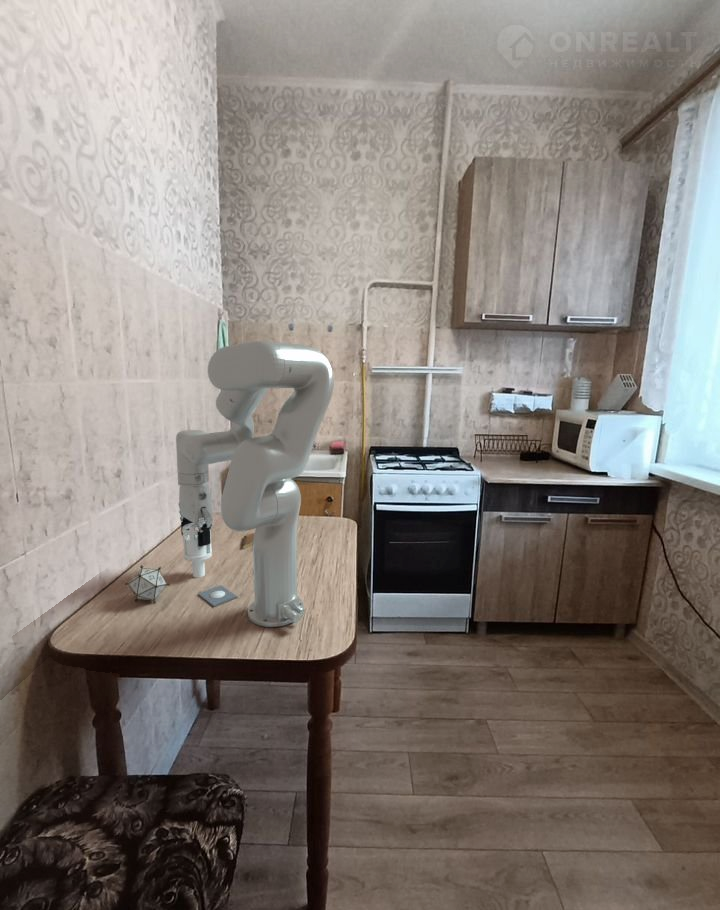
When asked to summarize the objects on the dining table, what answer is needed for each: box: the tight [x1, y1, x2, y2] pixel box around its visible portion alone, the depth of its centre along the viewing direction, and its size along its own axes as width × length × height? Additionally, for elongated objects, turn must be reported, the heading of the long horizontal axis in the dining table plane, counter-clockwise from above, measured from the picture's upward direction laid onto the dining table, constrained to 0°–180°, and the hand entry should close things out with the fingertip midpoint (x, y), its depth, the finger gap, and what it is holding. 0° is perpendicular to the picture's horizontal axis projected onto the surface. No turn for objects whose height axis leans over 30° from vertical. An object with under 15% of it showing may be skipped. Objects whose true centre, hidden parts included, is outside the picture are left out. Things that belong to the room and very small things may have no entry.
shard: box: [241, 531, 255, 550], centre depth 136 cm, size 11×8×2 cm
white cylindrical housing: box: [182, 522, 213, 579], centre depth 111 cm, size 7×7×15 cm
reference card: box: [197, 584, 238, 608], centre depth 101 cm, size 8×6×1 cm
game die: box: [124, 565, 171, 604], centre depth 98 cm, size 9×8×10 cm
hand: (195, 539), depth 111 cm, fingers open, 9 cm apart
